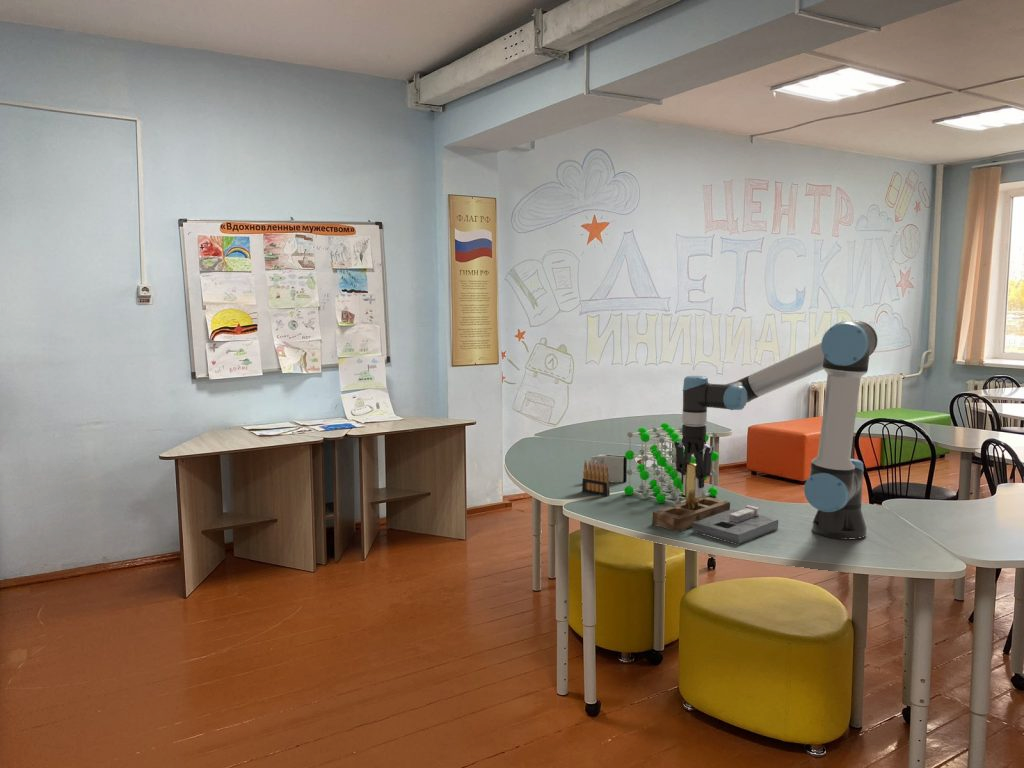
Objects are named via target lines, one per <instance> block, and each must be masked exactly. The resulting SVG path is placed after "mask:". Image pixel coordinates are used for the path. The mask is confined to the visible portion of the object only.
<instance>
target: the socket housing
mask: <svg viewBox="0 0 1024 768" xmlns="http://www.w3.org/2000/svg"><path fill="white" fill-rule="evenodd" d="M740 510H741V509H736V508H730V510H728V511H725V512H722V513H719V514H716V515H713V516H710V517H707V518H704V519H701V520H698V521H695V522H693V527H692V530H691V531H693V532H692V533H694V532H697V533H696V534H698V533H700V534H699V535H702V534H705V535H709V536H712V537H716V538H719V539H722V540H721V541H723V540H726V541H725V542H727V541H729V542H728V543H730V542H733V543H732V544H734V543H736V544H735V545H737V544H739V545H742V544H744V543H747V542H749V541H752V540H754V539H757V538H759V537H762V536H764V535H766V533H767V534H769V533H771V531H772V532H774V531H776V529H777V530H778V529H779V519H778V518H774V517H768V516H766V515H765V516H764V515H761V514H759V516H755V517H752V518H749V519H746V520H744V521H741V522H738V523H737V522H733V521H729V514H731V513H734V512H737V511H740ZM773 530H774V531H773ZM768 532H769V533H768ZM763 534H764V535H763ZM705 535H704V536H705ZM761 535H762V536H761ZM709 536H708V537H709ZM712 537H711V538H712ZM756 537H757V538H756ZM716 538H715V539H716ZM719 539H718V540H719ZM751 539H752V540H751ZM746 541H747V542H746ZM741 543H742V544H741Z"/></svg>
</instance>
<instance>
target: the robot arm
mask: <svg viewBox="0 0 1024 768" xmlns="http://www.w3.org/2000/svg"><path fill="white" fill-rule="evenodd" d="M878 341H879V340H878V335H877V332H876V330H875V328H874V327H872V325H870V324H868V323H867V322H864V321H861V320H850V321H840V322H838V323H835V324H834V325H832V326H831V327H830V328H828V329H827V330H826V331H825V333H824V334H823V336H822V338H821V342H820V343H817V344H815V345H813V346H810V347H809V348H807V349H805V350H802V351H800V352H797V353H795V354H793V355H792V356H789V357H787V358H784V359H782V360H780V361H778V362H776V363H774V364H772V365H771V364H770V365H769V366H767V367H765V368H763V369H760V370H758V371H756V372H754V373H751V374H749V375H747V376H745V377H743V378H740V379H738V380H735V381H733V382H729V383H725V384H723V383H721V384H720V383H712V382H711V383H709V380H708V379H709V378H708V377H707V376H702V375H689V376H685V377H684V378H683V386H682V387H683V388H682V419H681V422H682V426H681V427H682V435H683V437H681V438H682V441H677V442H675V449H676V450H675V451H676V455H675V456H676V461H675V464H676V466H675V467H676V469H675V471H677V472H680V473H681V474H682V475H681V477H682V478H681V479H682V481H681V482H682V484H683V495H686V474H687V463H690V462H691V457H692V456H694V457H695V461H696V468H697V475H698V477H697V478H696V479H695V498H700V497H702V488H703V489H704V487H705V481H704V478H705V477H710V476H711V475H710V472H711V471H712V460H711V456H712V452H713V449H714V450H715V447H714V448H713V445H708V443H707V442H706V441H705V437H706V433H707V425H706V424H707V419H708V418H707V416H708V414H707V413H708V408H715V409H722V410H730V411H739V410H740V411H741V410H743V409H744V408H745V406H746V405H747V403H749V402H751V401H753V400H755V399H757V398H760V397H761V396H765V395H767V394H769V393H771V392H773V391H776V390H778V389H780V388H783V387H785V386H788V385H790V384H792V383H795V382H797V381H799V380H802V379H804V378H806V377H809V376H811V375H813V374H815V373H819V372H821V371H823V370H824V371H825V373H826V374H827V376H826V384H825V386H826V387H825V393H824V394H825V395H824V401H823V409H822V416H821V417H822V419H821V428H820V435H819V443H818V452H817V456H815V457H814V458H813V459H811V463H810V470H809V476H808V478H807V480H806V481H805V483H804V488H803V490H804V497H805V499H806V501H807V502H808V503H809V504H810V506H811V507H813V508H814V509H816V510H817V511H816V514H815V515H814V519H813V521H812V528H811V529H812V531H813V532H814V533H815V534H818V535H820V536H823V537H827V538H830V537H832V538H831V539H836V538H847V539H846V540H850V539H849V538H859V537H863V536H865V535H866V536H867V525H866V521H865V518H864V515H863V511H862V499H863V485H864V484H863V482H864V472H865V471H864V470H865V469H864V463H863V461H861V460H859V459H857V458H851V455H852V449H853V439H854V431H855V425H856V416H857V408H858V401H859V392H860V385H861V379H862V377H863V376H865V374H867V373H868V371H869V361H870V356H871V355H873V353H874V352H875V351H876V349H877V346H878ZM683 447H684V448H685V450H684V448H683ZM703 449H704V461H703ZM698 453H699V454H698ZM692 454H693V455H692ZM683 495H682V496H683ZM866 536H865V537H866Z"/></svg>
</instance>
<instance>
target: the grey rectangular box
mask: <svg viewBox="0 0 1024 768" xmlns="http://www.w3.org/2000/svg"><path fill="white" fill-rule="evenodd" d="M593 461H594V462H595V470H596V466H597V462H598V463H599V470H600V469H601V463H603V466H604V473H605V465H606V463H607V465H608V475H609V481H614V482H613V483H618V482H623V483H624V482H626V483H627V478H628V477H627V476H628V474H627V470H628V468H627V467H628V459H626V457H625V455H621V454H619V455H617V454H598V455H595V456H594V455H593V456H590V462H591V471H592V464H593Z"/></svg>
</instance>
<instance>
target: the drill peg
mask: <svg viewBox="0 0 1024 768" xmlns="http://www.w3.org/2000/svg"><path fill="white" fill-rule="evenodd" d="M697 477H698V475H697V468H696V463H687V474H686V496H685V497H686V509H690V510H694V511H695V510H698V502H699V498H695V479H696V478H697Z"/></svg>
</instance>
